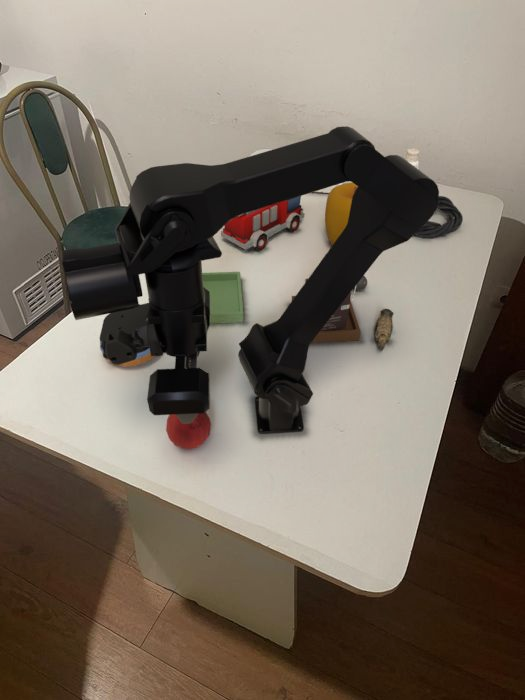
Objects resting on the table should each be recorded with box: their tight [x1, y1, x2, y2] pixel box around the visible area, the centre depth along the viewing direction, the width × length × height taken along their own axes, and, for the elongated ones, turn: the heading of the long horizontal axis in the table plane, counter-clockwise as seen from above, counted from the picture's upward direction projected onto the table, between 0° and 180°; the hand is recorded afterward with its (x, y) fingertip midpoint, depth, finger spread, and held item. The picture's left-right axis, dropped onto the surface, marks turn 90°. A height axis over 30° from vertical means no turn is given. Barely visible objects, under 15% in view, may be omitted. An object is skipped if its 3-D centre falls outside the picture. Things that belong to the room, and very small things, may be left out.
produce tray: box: [202, 271, 245, 325], centre depth 92 cm, size 12×12×2 cm
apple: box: [324, 181, 358, 246], centre depth 103 cm, size 11×11×13 cm
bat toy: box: [351, 275, 368, 302], centre depth 95 cm, size 3×15×5 cm, turn 164°
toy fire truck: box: [220, 196, 305, 252], centre depth 107 cm, size 9×19×10 cm, turn 137°
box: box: [304, 278, 352, 331], centre depth 86 cm, size 6×6×7 cm
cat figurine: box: [374, 308, 394, 351], centre depth 85 cm, size 3×8×4 cm, turn 166°
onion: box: [165, 411, 212, 450], centre depth 68 cm, size 6×6×8 cm
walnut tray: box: [290, 295, 361, 344], centre depth 88 cm, size 10×10×2 cm
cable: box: [414, 195, 464, 238], centre depth 113 cm, size 17×14×4 cm
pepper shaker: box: [404, 147, 420, 169], centre depth 120 cm, size 5×5×11 cm
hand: (188, 393), depth 64 cm, fingers open, 9 cm apart
